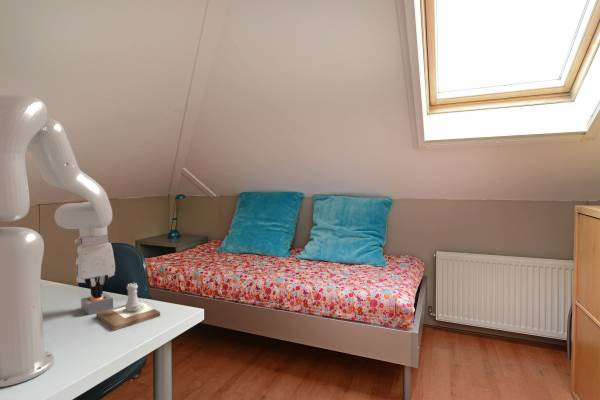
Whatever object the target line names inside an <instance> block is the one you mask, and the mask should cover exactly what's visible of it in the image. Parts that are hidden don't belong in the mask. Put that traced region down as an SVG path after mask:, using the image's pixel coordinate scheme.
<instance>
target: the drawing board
mask: <svg viewBox="0 0 600 400" xmlns="http://www.w3.org/2000/svg"><path fill="white" fill-rule="evenodd" d="M139 302H140V303H141V305H140V306H141V308H140V309H139V310H137V311H134V312H127V311H126V310H125V308H126V307H125V305H126V304H125V305H121V306H118V307H113V308H112V309H109V310H105V311H101V312H98V313H95V314H96V315H95V316H96V318H97V319H98V320H100V321H101V322H102V323H104V324H105V325H106V326H108V327H109V328H110V329H112V330H113V331H119V330H121V329H123V328H127V327H130V326H134V325H136V324H139V323H144V322H146V321H149V320H152V319H155V317H156V318H158V317H161V312H160V311H159V310H157V309H156V308H154V307H152V306H150V305H148V304H146V303H145V302H143V301H140V300H139Z"/></svg>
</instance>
